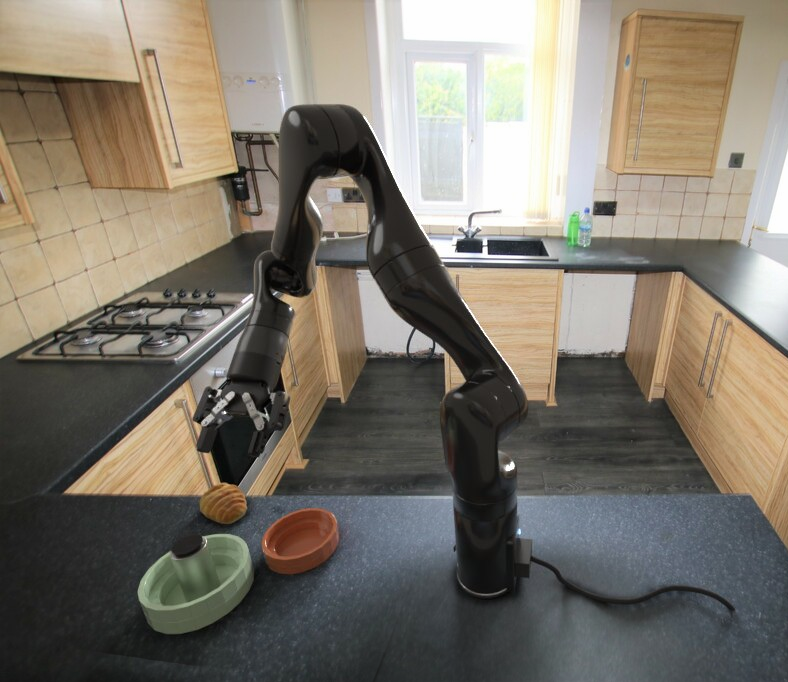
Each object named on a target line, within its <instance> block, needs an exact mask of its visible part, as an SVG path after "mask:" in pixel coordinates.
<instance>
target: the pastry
mask: <svg viewBox="0 0 788 682" xmlns="http://www.w3.org/2000/svg"><path fill="white" fill-rule="evenodd" d="M198 505H199V510H200V512H201V513H202V515H203V516H204V517H205V518H207V519H210V521H214V522H217V523H219V524H222V525H232V524H233V523H235V522H237V521H239V520H240V519H242V518H243V517H244V516H245V515H246V512H247V511H248V506H247V500H246V494H245V493H244V492H243V491H242V490H240V487H239V486H238V485H236V484H229V483H228V482H220V483H217V484H214V485H212V486H211V487H209V488H208V489H207V490H206V491H204V493H203V494H202V496H201V497H200V499H199V503H198Z"/></svg>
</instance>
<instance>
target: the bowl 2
mask: <svg viewBox="0 0 788 682" xmlns="http://www.w3.org/2000/svg"><path fill="white" fill-rule="evenodd" d="M339 541H340V531H339V527H338V522H337V518H336V516H335V515H334V514H333V513H332V512H331V511H329V510H326V509H325V508H317V507H310V508H309V507H307V508H302V509H298V510H295V511H292V512H290V513H287V514H286V515H284V516H281V517H280V518H279V519H277V520H276V521H275V522H273V523H272V524H271V525H270V526H269V527H268V529H266V531H265V533H264V534H263V537H262V539H261V551H262V554H263V558H264V562H265V564H266V566H267V567H268V569H269V570H270V571H273V572H275V573H277V574H279V575H287V576H289V575H297V574H302V573H305V572H307V571H310V570H313V569H315V568H317V567H318V566H320V565H321V564H323V563H325V562H326V561H327V560H328V559H329V558H330V557H331V556H332V555H333V554H334V552H335V551H336V549H337V548H338V547H339V546H338V545H339Z"/></svg>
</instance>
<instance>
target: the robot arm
mask: <svg viewBox="0 0 788 682" xmlns="http://www.w3.org/2000/svg"><path fill="white" fill-rule="evenodd" d="M279 126H280V127H279V133H278V169H277V170H278V174H277V176H278V177H277V178H278V179H277V181H278V209H277V218H276V221H275V226H274V230H273V234H272V239H271V244H270V249H268V250H265V251H263V252H261V253H260V254H258V256H257V257H256V259H255V261H254V265H253V297H252V304H251V308H250V312H249V314H248V317H247V320H246V322H245V326H244V328H243V331H242V333H241V334H240V336H239V339H238V341H237V344H236V347H235V350H234V353H233V355H232V358H231V361H230V363H229V367H228V370H227V373H226V376H225V377H226V384H225V386H224V387H223V389H219V388H214V387H212V386H208V385H207V386H206V387H205V388H204V390H203V392H202V395H201V397H200V399H199V402H198V404H197V406H196V408H195V411H194V414H193V416H192V418H191V419H192V422H194V423H197V424H198V425H200V426H201V429H200V432H199V434H198V438H197V440H196V444H195V445H196V447H195V448H196V451H197V452H198V453H202V454H210V453H211V451H212V449H213V446H214V443H215V440H216V437H217V434H218V429H219V428H220V427H221V426H222V425H223V424H224V423H225V422H228V421H231V419H232V418H243V417H244V418H248V419H251V420H252V421H253V423H254V426H255V428H256V430H254V431H253V433H252V437H251V440H250V443H249V447H248V450H247V455H248V456H249V457H253V458H260V457H261V455H263V453H264V452H265V450H266V445H267V443H268V439H269V435H270V434H272V433H273V432H276V431H279V432H281V431H283V430H284V427H285V424H286V419H287V415H288V409H289V406H290V402H291V396H290V395H289V394H287V393H286V392H285V391H282V390H278V391H276V392H274V389H275V388H276V387H277V385H278V381H279V378H280V374H281V372H282V367H283V364H284V361H285V358H286V354H287V351H288V350H287V349H288V342H289V338H290V335H291V332H292V330H293V325H294V322H295V320H296V311H295V308H294V307H293V306H292V305H290V304H289V303H287V302H285V301H283V300H282V299H280V298H278V297H277V296H275V295H274V294H273V293H272V291H273V292H276V293H280V294H283V295H286V296H289V297H292V298H297V299H303V298H307V297H308V296H310V295H312V293H314V290H315V289H316V286H317V281H318V270H317V264H316V256H317V252H318V250H319V246H320V243H321V240H322V237H323V233H324V222H323V218H322V216H321V215H322V214H321V212H320V211H319V208H318V207H317V206H316V203H314V201H313V200H312V197H311V195H310V192H311V189H312V187H313V186H314V184H315V182H316V181H318V180H327V179H329V180H330V179H336V178H345V177H349V178H350V179H351V180H352V181H353V182H354V184H355V185H356V187H357V188H358V191H359V192H360V194H361V197H362V198H363V201H364V204H365V207H366V210H367V229H366V241H365V257H366V260H365V261H366V265H367V269H368V271H369V273H370V275H371V277H372V279H373V280H374V282H375V285H376V286H377V287H378V290H379V291H380V293H381V294H382V297H383V298H384V300H385V302H386V303H387V304H388V307H390V309H391V310H392V311H393V312H394V314H396V315H397V317H399V318H400V319H401V320H402V321H404V322H405V323H407V324H408V325H409V326H410V327H412V328H414V329H415V330H417V331H418V332H419V333H421V334H423V335H424V336H425V337H427V338H429V339H430V340H432V341H433V342H434V343H436V344H437V345H438V346H439V347H441V348H442V349H443V351H445V352H446V353H447V354H448V356H449V357H450V358H451V360H452V361H453V362H454V363H455V365H456V367H457V368H458V370H459V371H460V373H461V374H462V376H463V378H464V380H465V381H463V382H461V383H460V384H458V385H456V386H455V387H453V388H451V389H450V390H449V391H448V392H446V393H445V394H444V396H443V398H442V399H441V402H440V407H439V426H440V427H439V428H440V434H441V443H442V450H443V457H444V458H443V459H444V464H445V467H446V470H447V472H448V474H449V477H450V479H451V491H452V507H453V522H454V525H453V526H454V541H455V544H454V546H453V553H455V556H456V579H457V583H458V585H459V587H460V588H461V589H462V590H463V591H464V592H465V593H466V594H467V595H469V596H471V597H473V598H477V599H481V600H482V599H483V600H486V599H487V600H489V599H495V598H498V597H501V596H503V595H505V594H506V593H510V594H511V593H515V591H516V585H517V584H516V583H517V581H518V578H523V579H530V574H531V565H532V563H535V564H536V565H538V566H539V565H540V566H541V567H544V568H546V569H548V570H550V571H551V572H552V573H553V574H554V575H555V577H556V579H557V580H558V582H559V583H561V584H562V585H564V586H565V587H566V588H568V589H570V590H572V591H575V592H577V593H580V594H581V595H584V596H585V597H588V598H590V599H592V600H594V601H598V602H601V603H607V604H615V605H635V604H639V603H643V602H646V601H648V600H651V599H652V598H654V597H657V596H658V595H659V596H660V595H661V594H664V593H668V592H675V591H676V592H677V591H678V592H690V593H695V594H700V595H703V596H706V597H707V596H708V597H710V598H712V599H714V600H716V601H718V602H719V603H721V604H722V605H723V606H725V607H726V608H727V610H729V611H732V612H733V611H736V609H735V606H734V605H732V603H731V602H729V601H728V600H727V599H726V598H724V597H723V596H721V595H719V594H718V593H717V592H713V591H712V590H709V589H706V588H703V587H698V586H693V585H683V584H670V585H664V586H661V587H658V588H657V589H654V590H652V591H649V592H647V593H645V594H642V595H640V596H637V597H630V598H621V597H619V598H618V597H612V596H611V597H610V596H605V595H600V594H596V593H593V592H590V591H587V590H585V589H583V588H582V587H581V588H580V587H579V586H578V585H577V586H576V585H575V584H573V583H572V582H570V581H568V580H567V579H565V578H564V576H562V574H561V572H560V570H559V569H558V568H557V567H555V566H554V565H553V564H552V563H549V562H547V561H546V560H543V559H541V558H539V557H536V556H533V539H532V538H526V537H520V535H521V533H522V532H521V529H520V513H518V466H517V464H516V462H515V460H514V458H513V457H512V456H510V455H509V454H508V453H506V452H504V451H502V450H499V444H500V443H501V442H502V441H504V440H505V439H506V438H508V436H510V435H511V434H512V433H514V432H515V431H516V430H517V429H518V428H520V427H521V426H522V425H523V424H524V423H525V421H526V420H527V418H528V415H529V401H528V397H527V394H526V391H525V389H524V387H523V385H522V384H521V381H520V380H519V378H518V377H517V375H516V374H515V373H514V371H513V369H512V368H511V367H510V366H509V364H508V363H507V361H506V360H505V358H504V357H503V356H502V354H501V353H500V351H499V350H498V349H497V348H496V345H495V344H494V343H493V342H492V340H491V339H490V338H489V337H488V335H487V333H486V332H485V331H484V329H483V328H482V326H481V324H480V323H479V322H478V320H477V318H476V317H475V315H474V313H473V311H472V310H471V308H470V307H469V305H468V304H467V302H466V300H465V298H464V297H463V295H462V294H461V292H460V291H459V289H458V287H457V286H456V284H455V282H454V280H453V278H452V276H451V275H450V273H449V271H448V269H447V267H446V265H445V264H444V262H443V260H442V259H441V257H440V255H439V253H438V251H437V250H436V248H435V246H434V245H433V243H432V241H431V240H430V239H429V237H428V236H427V234H426V233H425V231H424V228H423V227H422V226H421V224H420V222H419V220H418V219H417V216H416V215H415V213H414V210H413V209H412V207H411V206H410V204H409V202H408V201H407V199H406V197H405V195H404V193H403V191H402V189H401V187H400V185H399V183H398V181H397V179H396V177H395V175H394V173H393V170H392V168H391V166H390V164H389V162H388V159H387V157H386V155H385V153H384V151H383V149H382V146H381V144H380V142H379V140H378V138H377V136H376V134H375V132H374V130H373V128H372V126H371V124H370V123H369V122H368V120H367V118H366V117H365V115H363V114H362V112H361V111H360V110H359V109H357V108H356V107H354V106H352V105H347V104H342V103H307V104H306V103H305V104H304V103H303V104H295V105H292V106H290V107H289V108H287V109H286V111H284V113H283V116H282V118H281V122H280V125H279ZM270 404H271V405H272V407H271V410H270V414H269V413H268V410H267V406H269V405H270Z"/></svg>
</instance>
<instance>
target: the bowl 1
mask: <svg viewBox="0 0 788 682" xmlns="http://www.w3.org/2000/svg"><path fill="white" fill-rule="evenodd" d="M203 537H205V538H206V540H207V543H208V546H209V550H210V553H211V556H212V559H213V562H214V566H215V569H216V572H217V575H218V578H219V582H220V587H218V588H217V589H215V590H214V591H212V592H210V593H209V594H207V595H205V596H203V597H201V598H198V599H196V600H194V601H191V602H187V601H186V600H185V597H184V594H183V591H182V588H181V586H180V583H179V580H178V577H177V574H176V572H175V569H174V566H173V563H172V560H171V557H170V551H168V552H166V553H165V554H164V555H163V556H161V557H159V558H158V559H157V560H156V561H155V562H154V563H153V564H152V565H151V566H150V567H149V568H148V569H147V571H146V572H145V573H144V575H143V576H142V578H141V579H140V582H139V585H138V588H137V597H138V602H139V604H140V606H141V609H142V611H143V614H144V616H145V619H146V622H147V624H148V625H149V626H150V628H152V629H153V630H154V631H155V632H158V633H161V634H164V635H182V634H186V633H190V632H194V631H198V630H200V629H202V628H205V627H207V626H210V625H212V624H214V623H215V622H217V621H218V620H220V619H221V618H223V617H225V616H226V615H229V613H230V612H232V611H233V610H234V609H235V608H236V607H237V606H238V605H239V604H240V603H241V602H242V601H243V600H244V599H245V597H246V596H247V594H248V593H249V592H250V590H251V587H252V585H253V583H254V581H255V567H254V565H253V561H252V557H251V553H250V551H249V547H248V545H247V542H246V541H245V540H244V539H242V538H241V537H240V536H237V535H234V534H230V533H216V534H210V535H209V534H208V535H204V536H203Z"/></svg>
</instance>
